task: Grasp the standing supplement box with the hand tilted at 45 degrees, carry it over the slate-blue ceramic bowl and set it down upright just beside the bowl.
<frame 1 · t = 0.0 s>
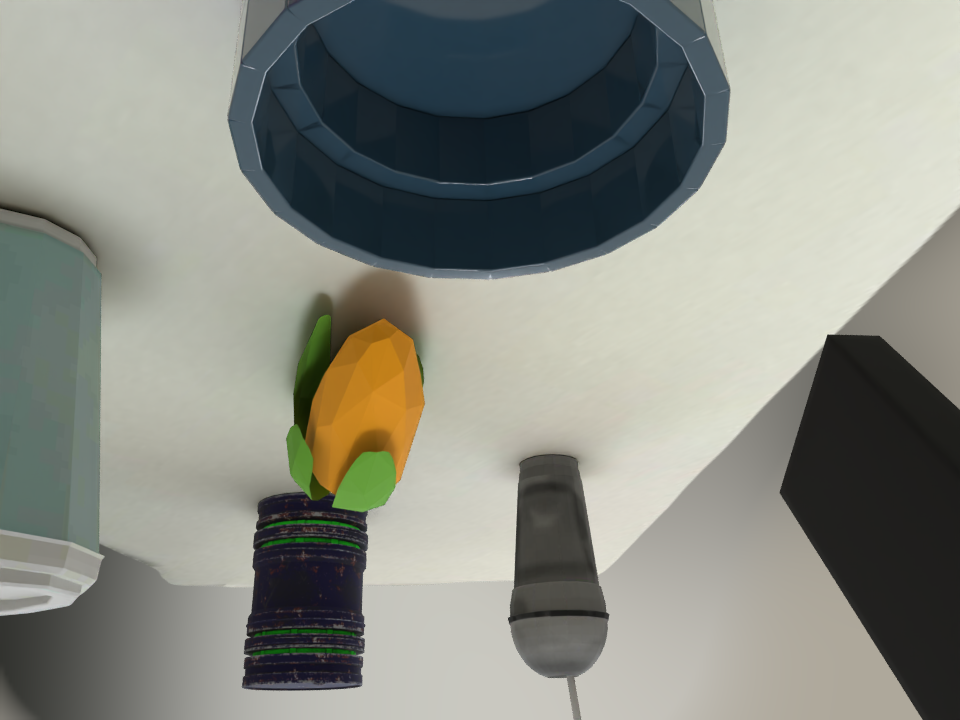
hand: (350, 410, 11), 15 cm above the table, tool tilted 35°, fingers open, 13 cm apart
corn: (359, 353, 46), on the table
storage jar: (313, 505, 74), on the table
beverage cup: (548, 461, 64), on the table
disposable coffee cup: (20, 247, 35), on the table
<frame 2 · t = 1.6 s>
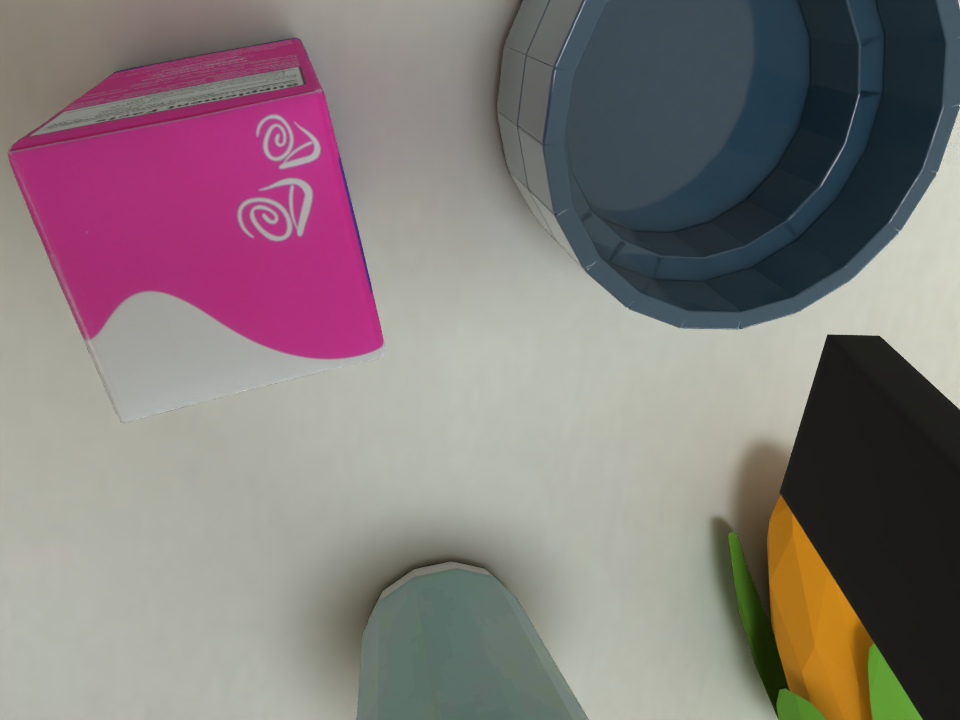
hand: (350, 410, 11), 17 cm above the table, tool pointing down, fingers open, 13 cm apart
corn: (791, 593, 40), on the table
bowl: (671, 91, 28), on the table
supplement box: (237, 145, 26), on the table
disposable coffee cup: (442, 618, 36), on the table
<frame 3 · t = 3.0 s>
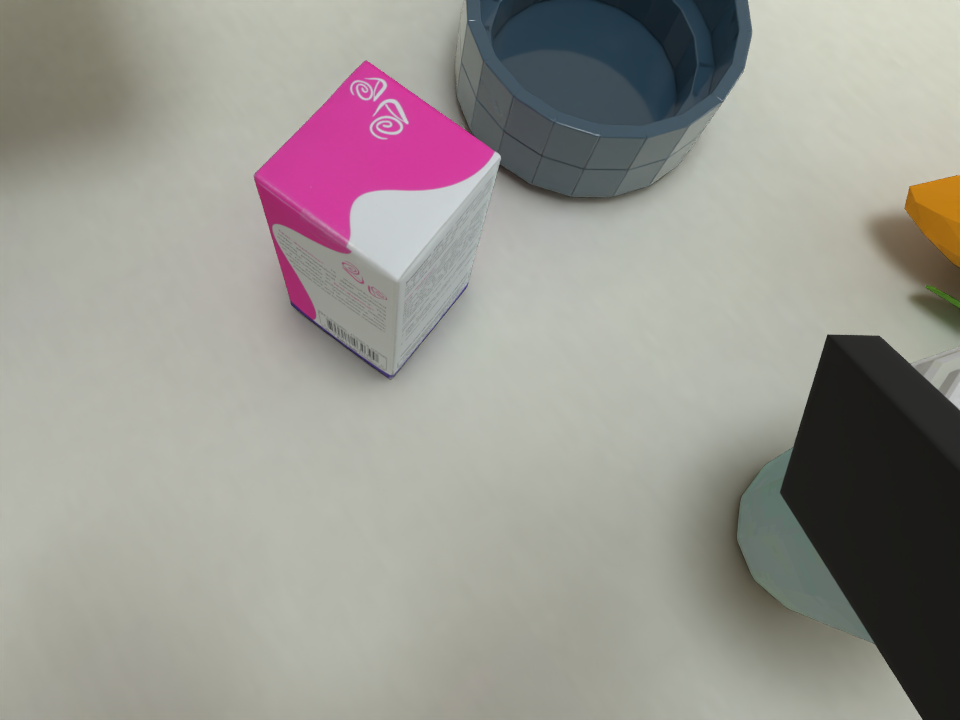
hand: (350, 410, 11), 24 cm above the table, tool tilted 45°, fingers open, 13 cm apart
bowl: (578, 88, 40), on the table
supplement box: (380, 293, 37), on the table
disposable coffee cup: (808, 537, 36), on the table
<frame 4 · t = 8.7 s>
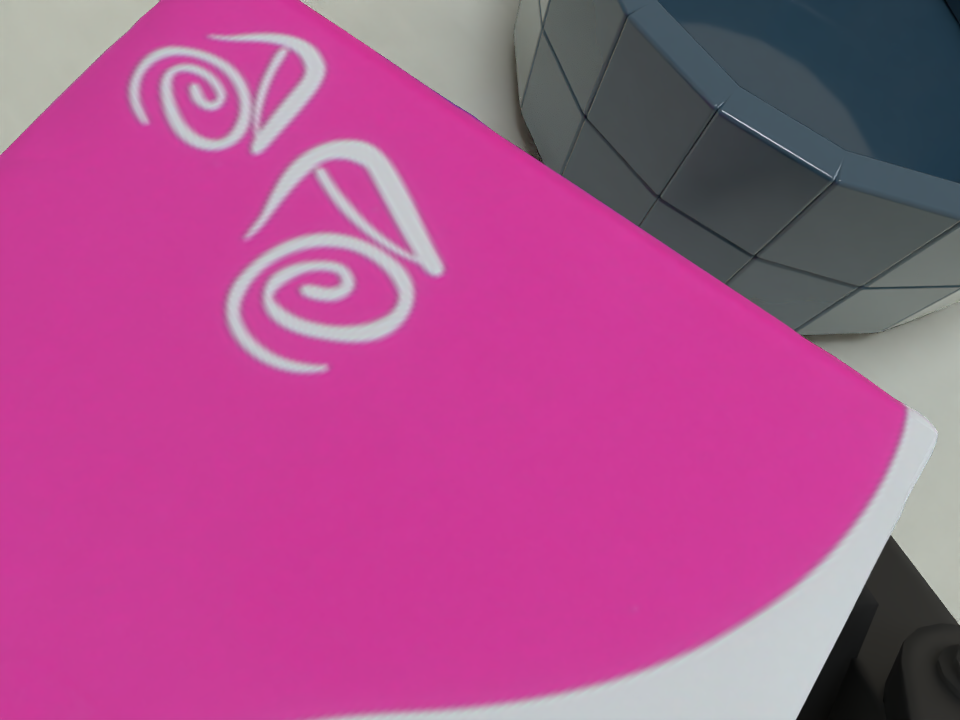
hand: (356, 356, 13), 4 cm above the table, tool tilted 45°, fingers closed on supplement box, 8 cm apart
bowl: (773, 90, 19), on the table
supplement box: (358, 590, 15), on the table, touching gripper
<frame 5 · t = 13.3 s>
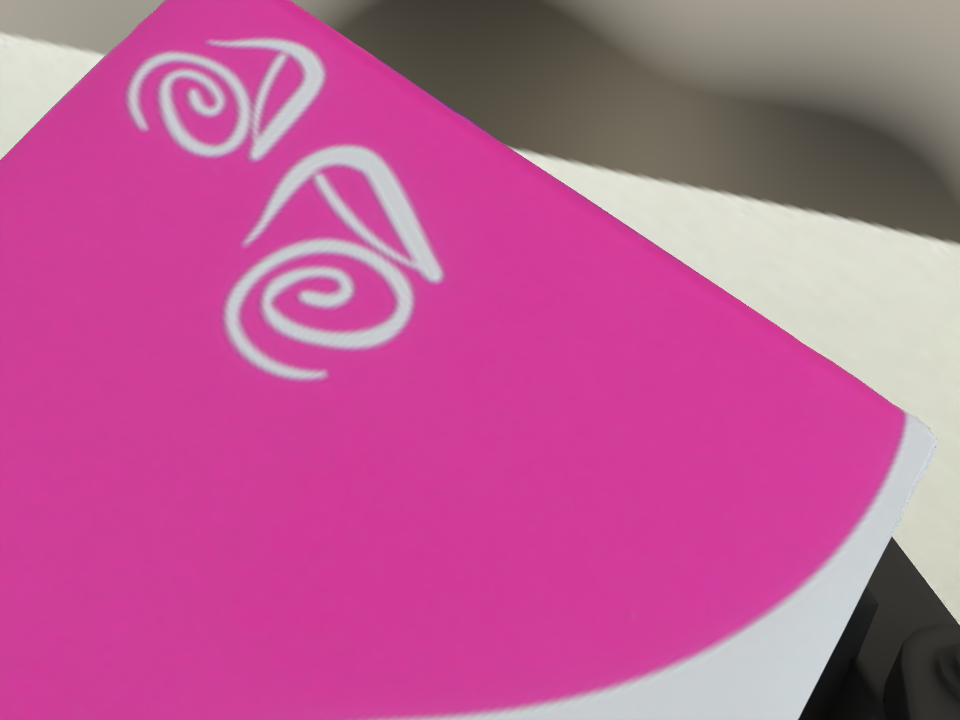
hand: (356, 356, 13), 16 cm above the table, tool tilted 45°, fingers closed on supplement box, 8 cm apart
supplement box: (357, 592, 15), point 12 cm above the table, touching gripper
when the fingers open (4 cm above the table, at t = 18.2 s): supplement box stays where it is, on the table.
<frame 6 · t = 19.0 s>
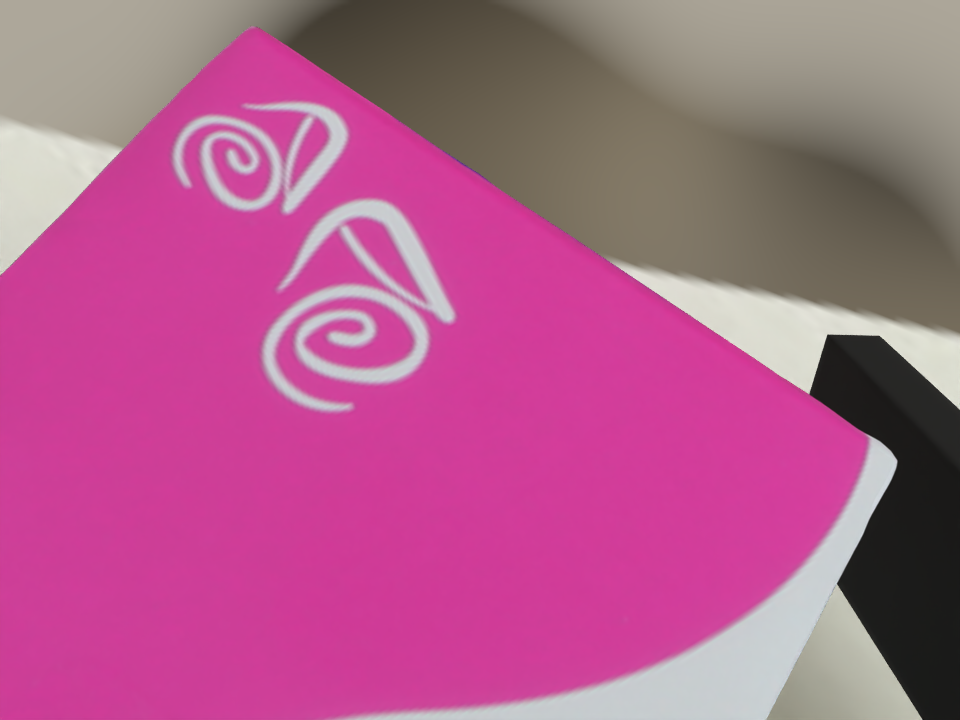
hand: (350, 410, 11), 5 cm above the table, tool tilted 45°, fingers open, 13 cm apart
supplement box: (367, 595, 16), on the table
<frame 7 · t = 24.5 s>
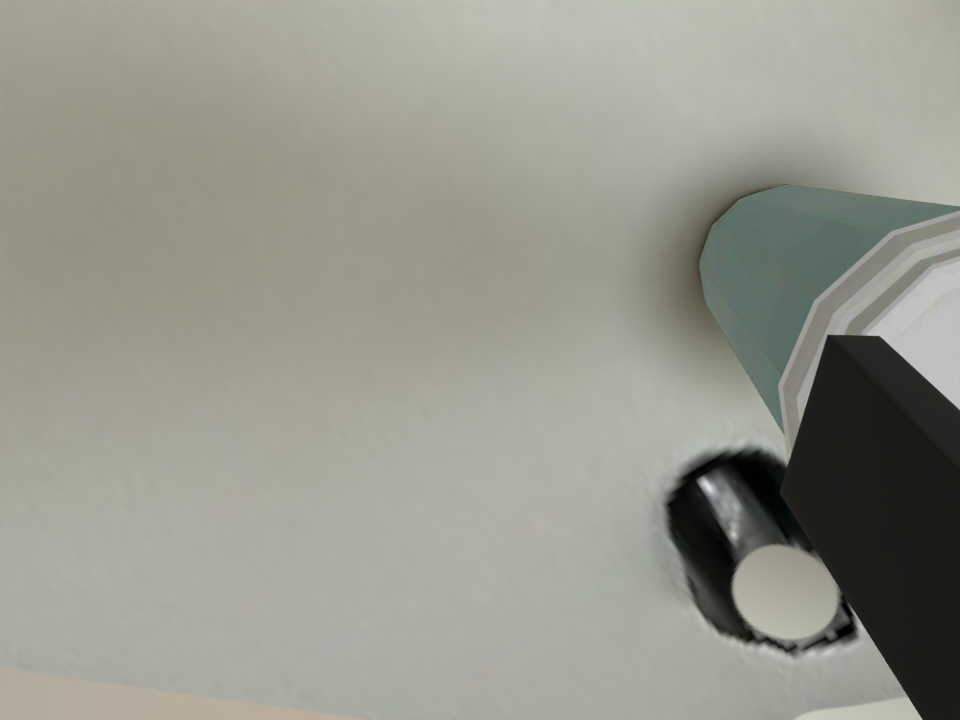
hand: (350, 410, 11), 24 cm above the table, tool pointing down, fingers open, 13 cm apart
disposable coffee cup: (769, 259, 37), on the table
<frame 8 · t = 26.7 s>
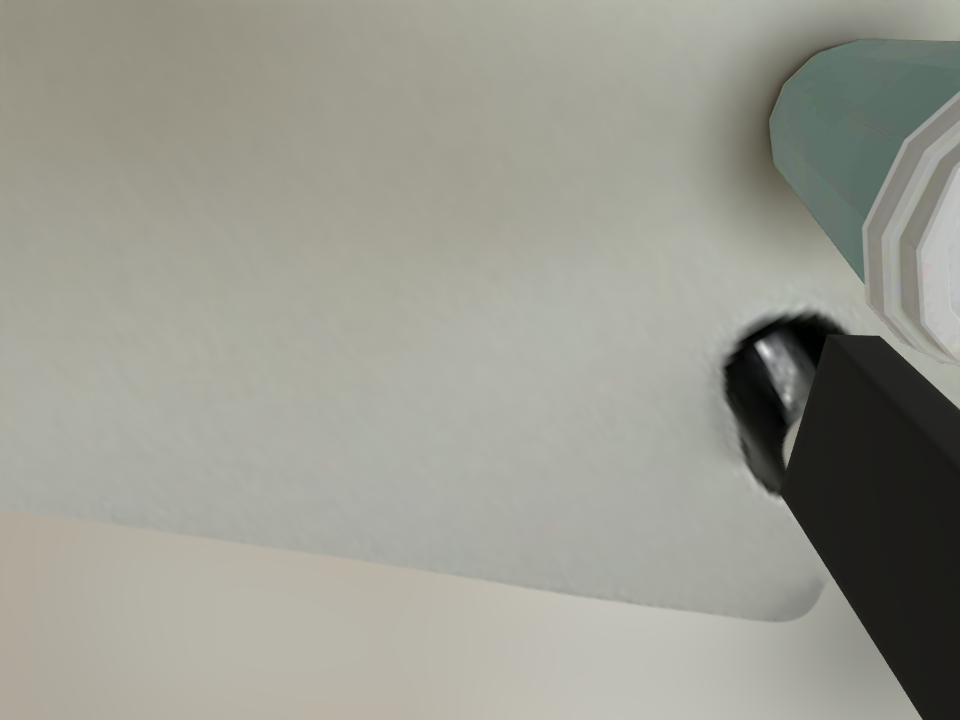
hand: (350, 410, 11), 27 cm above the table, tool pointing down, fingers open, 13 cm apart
disposable coffee cup: (839, 119, 37), on the table
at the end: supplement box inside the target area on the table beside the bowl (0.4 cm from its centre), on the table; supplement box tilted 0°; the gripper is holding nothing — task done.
